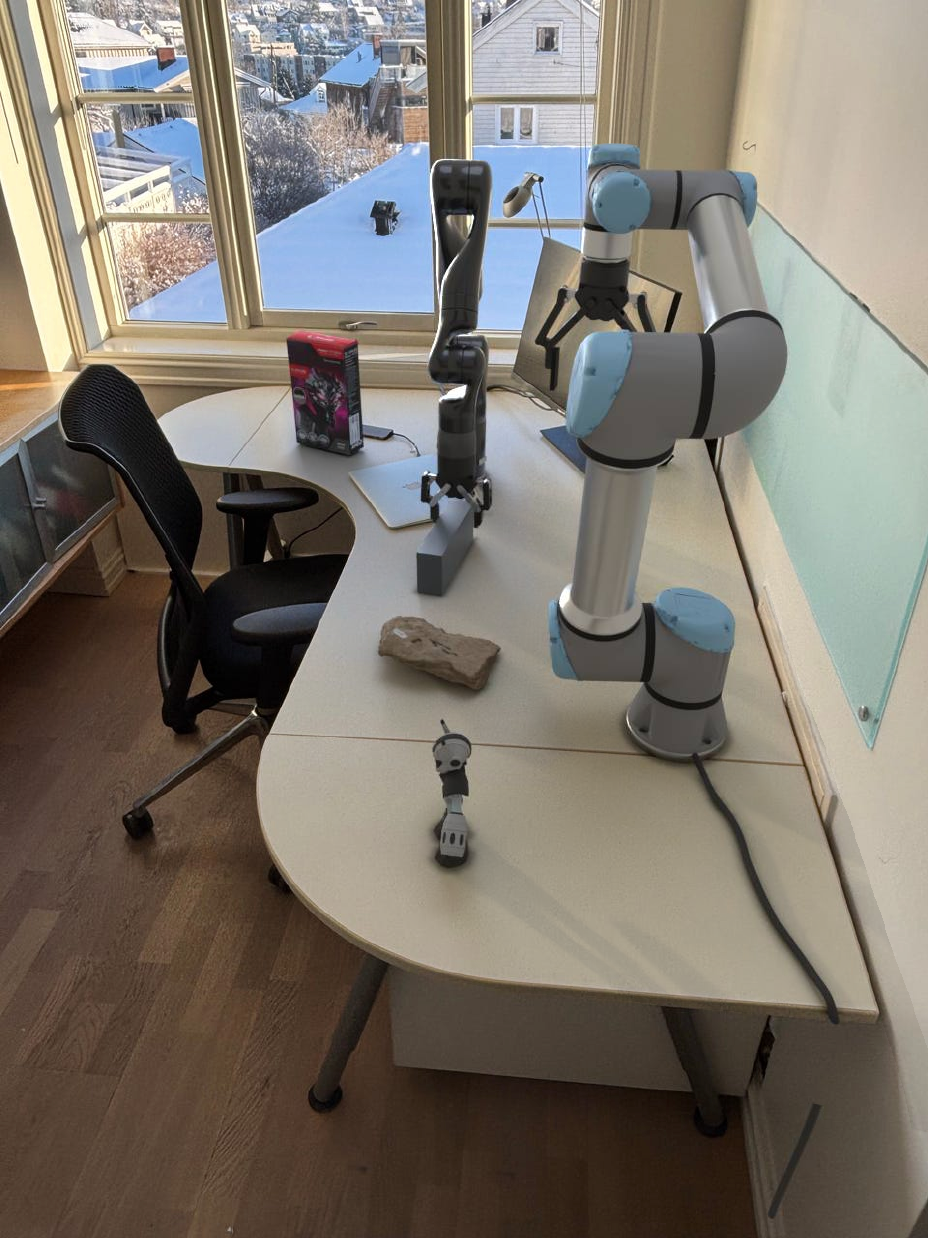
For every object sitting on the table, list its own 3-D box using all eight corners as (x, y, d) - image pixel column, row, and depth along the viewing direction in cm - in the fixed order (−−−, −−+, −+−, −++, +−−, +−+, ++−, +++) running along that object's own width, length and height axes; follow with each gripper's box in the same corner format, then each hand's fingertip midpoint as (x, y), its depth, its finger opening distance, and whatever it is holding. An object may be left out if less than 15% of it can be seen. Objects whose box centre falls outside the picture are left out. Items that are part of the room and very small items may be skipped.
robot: (474, 902, 115) (476, 785, 104) (435, 903, 115) (433, 787, 104) (466, 791, 132) (467, 679, 120) (432, 792, 131) (430, 680, 120)
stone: (354, 663, 151) (360, 631, 149) (385, 632, 165) (392, 602, 162) (474, 706, 148) (483, 673, 145) (496, 671, 161) (504, 640, 159)
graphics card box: (294, 443, 234) (283, 336, 218) (310, 434, 239) (300, 328, 224) (350, 457, 227) (343, 347, 212) (366, 447, 232) (360, 339, 217)
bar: (442, 596, 175) (441, 556, 170) (417, 592, 176) (416, 552, 171) (473, 539, 194) (473, 501, 189) (450, 535, 195) (450, 498, 190)
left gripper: (496, 445, 180) (494, 520, 189) (427, 437, 183) (428, 511, 192) (487, 460, 174) (485, 536, 183) (415, 452, 177) (417, 527, 186)
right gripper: (690, 258, 141) (672, 393, 152) (531, 246, 147) (525, 377, 159) (685, 268, 135) (667, 408, 146) (520, 256, 141) (515, 391, 152)
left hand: (456, 523), depth 187 cm, fingers open, 8 cm apart
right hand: (593, 392), depth 153 cm, fingers open, 13 cm apart
